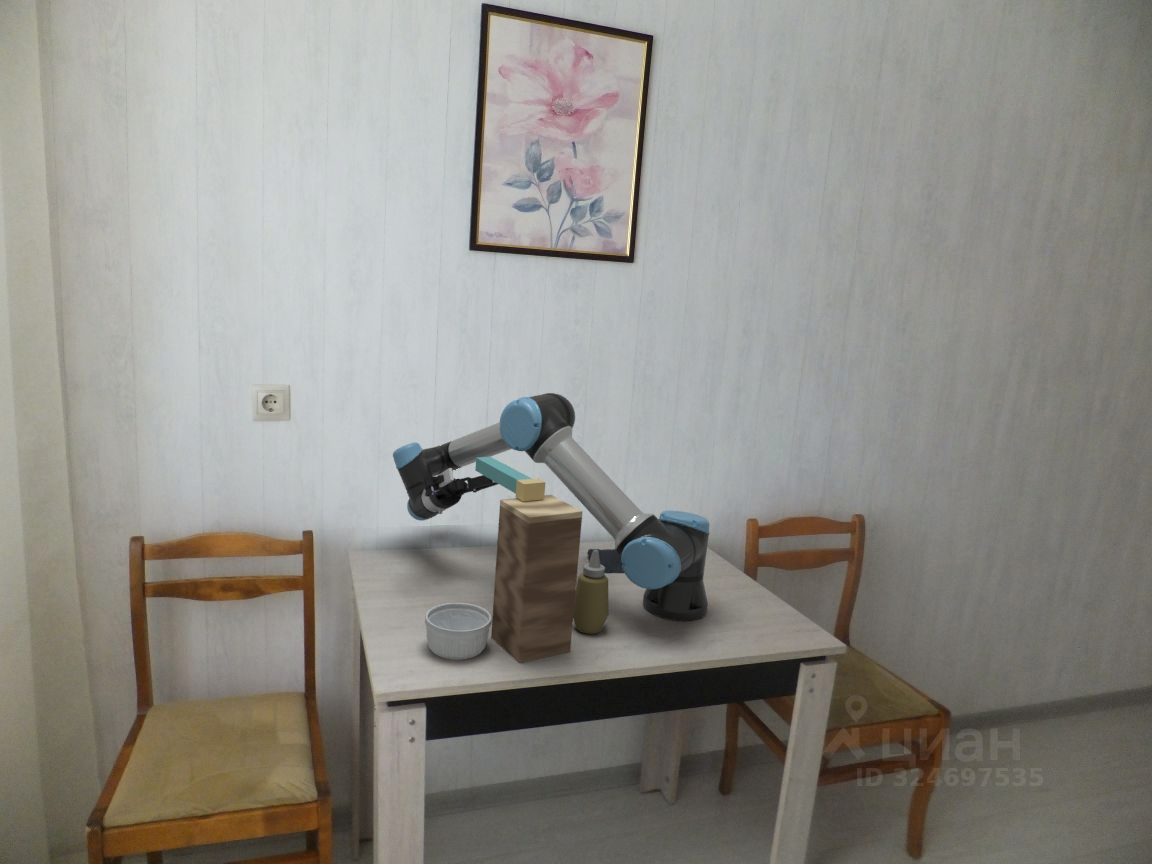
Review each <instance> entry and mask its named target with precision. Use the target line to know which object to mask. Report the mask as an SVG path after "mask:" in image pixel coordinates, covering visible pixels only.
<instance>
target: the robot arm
mask: <svg viewBox="0 0 1152 864" xmlns="http://www.w3.org/2000/svg"><path fill="white" fill-rule="evenodd" d="M575 422H576V412H575V408H574V407H573V404H572V403H571V402H570V400H568V398H566V397H565V396H563V395H562V394H559V393H556V392H547V393H543V394H538V395H533V396H522V397H519V398H518V399H514V400H512V401H511V402H508V404H507V405H506V406H505V407H504V409H503V410H502V412H501V414H500V418H499V422H496V423H494V424H492V425H490V426H487V427H484V428H481V429H479V430H476V431H474V432H471V433H468V434H466V435H464V436H461V437H459V438H456V439H453V440H451V441H448V442H446V443H443V444H440V445H441V446H440V445H437V446H433V447H428V448H424V449H423V448H422V447H421V444H420V443H418V442H410V443H408V444H405V445H403V446H401V447H399V448H397V449H395V450H394V451H393V452H392V457H393V462H394V464H395V468H396V469H397V471H398V474H399V476H400V478H401V481H402V483H403V486H404V489H405V490H406V494H407V496H408V498H409V499H408V501H407V505H406V506H407V513H408V515H410V516H411V517H412V518H413V519H415V520H417V521H427V520H429V519H432V518H434V517H436V516H437V515H442V514H443V512H444V511H447V510H448V509H450V508H451V507H453V506H455V505H456V504H458V503H459V502H460V500H461V499H462V497H463V495H465V494H467V493H471V492H472V493H477V492H479V491H481V490H486V489H488V488H491V487H494V486H497V485H499V484H498V483H496V482H494V481H493V480H491V479H489V478H487V477H486V476H484V475H482V474H481V475H479V476H475V477H470V476H467V477H463V478H455V477H454V471H453V470H455V471H457V470H456V469H458V468H459V469H462V468H463V467H465V466H466V467H467V466H469V465H471V464H474V463H476V458H478V457H493V456H495V455H498V454H501V453H504V452H507V451H511V450H514V451H518V452H525V453H526V455H528V456H529V458H530V459H531V460H532V461H533V462H534V463H536V464H545V465H546V466H547V467H548V469H549V470H550V471H551V472H552V473H553V474H554V475H555V476H556V477H557V478H558V480H560V482H561V483H562V484H563V485H564V486H565V487H566V488H567V489H568V490H569V492H571V494H572V495H574V497H575V498H576V499H577V500H578V501H579V502H580V503H581V504H582V505H583V507H584V508H585V509H586V510H587V511H588V512H589V513H590V514H591V515H592V517H594V518H595V520H596V521H597V522H598V523H599V524H600V525H601V526H602V528H604V530H606V531H607V533H608V534H609V535H610V536H611V537H612V538H613V539H614V549H615V550H616V551H617V553H618V554H619V555H620V556H621V562H622V568H623V571H624V573H623V574H624V575H625V576H626V577H627V579H628V580H629V581H630V582H631V583H633V584H634V585H635V586H638V587H640V588H641V589H645V590H644V594H643V599H642V606H643V608H644V609H645V610H646V611H647V612H649V613H650V614H652V615H654V616H656V617H660V618H663V619H666V620H672V621H679V622H683V621H685V622H687V621H690V622H691V621H696V620H701V619H702V618H703V617H705V616H706V615H707V613H708V605H709V604H708V602H709V601H708V597H707V592H706V587H705V584H704V583H705V582H704V575H705V565H706V561H707V560H706V559H707V558H706V557H707V551H708V543H709V536H710V534H711V533H710V522H709V520H708V518H705V516H702V515H699V514H695V513H692V512H686V511H679V510H663V511H661V512H660V513H659V516H658V517H659V518H657V516H656V515H655V514H654V513H644V512H643V511H642V510H641V509H640V508H639V506H637V505H636V504H635V503H634V502H633V501H632V499H630V498H629V497H628V496H627V494H625V492H624V490H622V489H621V488H620V487H619V486H618V485H617V484H616V483H615V482H614V480H613V479H612V478H611V477H609V475H608V474H607V473H606V472H605V471H604V469H602V468H601V467H600V465H598V463H596V461H595V460H594V459H593V458H592V457H591V456H590V455H589V454H588V453H587V452H586V451H585V450H584V448H582V446H580V444H578V442H577V441H576V440H575V439H574V438H573V428H574V426H575ZM504 464H505V463H504ZM505 465H507V464H505ZM459 469H458V470H459ZM466 481H467V482H466Z"/></svg>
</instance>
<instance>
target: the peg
mask: <svg viewBox="0 0 1152 864" xmlns="http://www.w3.org/2000/svg"><path fill="white" fill-rule="evenodd" d="M475 472H478V473H479V474H480V475H481V476H482V475H484V476H486V477H487V478H489V479H491V480H493V481H494V482H496V483H498V485H500V486H502V487H503V488H505V489H506V490H508V491H510V492H512V493H514V494H515V498H518V499H519V500H521V501H532V500H542V499H544V495H546V492H545V491H546V481H544V480H542V479H541V478H538V477H537V478H532V477H530V476H528V475H526V474H524V473H523V472H520V471H519V470H516V469H515V468H513V467H511V466H508V465H507V464H506V465H505V463H504V462H501V461H499V460H498V459H496V458H493V456H491V457H478V458H476V462H475Z"/></svg>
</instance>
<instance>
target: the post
mask: <svg viewBox="0 0 1152 864" xmlns="http://www.w3.org/2000/svg"><path fill="white" fill-rule="evenodd" d="M582 521H583V510H580V509H579V508H577V507H575V506H574V505H572V504H570V503H568V502H566V501H564V500H562V499H560V498H558V497H556V496H554V495H552V494H545V495H544V499H542V500H532V501H521V500H519V499H518V498H516V497H515V498H514V497H512V498H504V499H500V501H499V515H498V527H497V528H498V529H497V543H496V559H495V562H496V563H495V575H494V590H493V602H492V603H493V606H492V616H491V633H490V638H491V639H492V640H493V641H494V642H495V643H496V644H498V646H499V647H501V648H502V649H503V650H504V651H505V652H506V653H507V654H509V656H511V657H512V658H513V659H514V660H515V661H516V662H518V663H519V664H521V663H524V662H530V661H533V660H538V659H541V658H542V659H543V658H548V657H552V656H556V655H561V654H565V653H569V652H571V648H572V647H571V645H572V635H573V625H574V624H573V623H574V619H573V614H574V603H575V592H576V586H577V581H578V567H579V554H580V546H581V544H580V543H581V536H582V535H581V531H582Z"/></svg>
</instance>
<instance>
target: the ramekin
mask: <svg viewBox="0 0 1152 864" xmlns="http://www.w3.org/2000/svg"><path fill="white" fill-rule="evenodd" d="M424 623H425V626H426V640H427V641H426V642H427V646H428V648H429V650H431V652H432V653H433V654H434V655H436V656H438V657H439V658H443V659H446V660H453V661H454V660H457V661H458V660H459V661H460V660H461V661H462V660H467V659H468V658H469V659H472V658H475V657H477V656H479V655H480V654H481V653H482V652H483V651H484V649H485V648H486V645H487V643H488V642H487V641H488V638H489V634H490V633H489V632H490V627H492V615H491V613H490V612H489V611H488V610H487V609H485V608H484V607H482V606H479V605H476V604H472V603H466V602H448V603H442V604H438V605H435V606H433V607H432V608H430V609H429V610H427V612H426V614H425V618H424ZM469 659H468V660H469Z"/></svg>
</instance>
